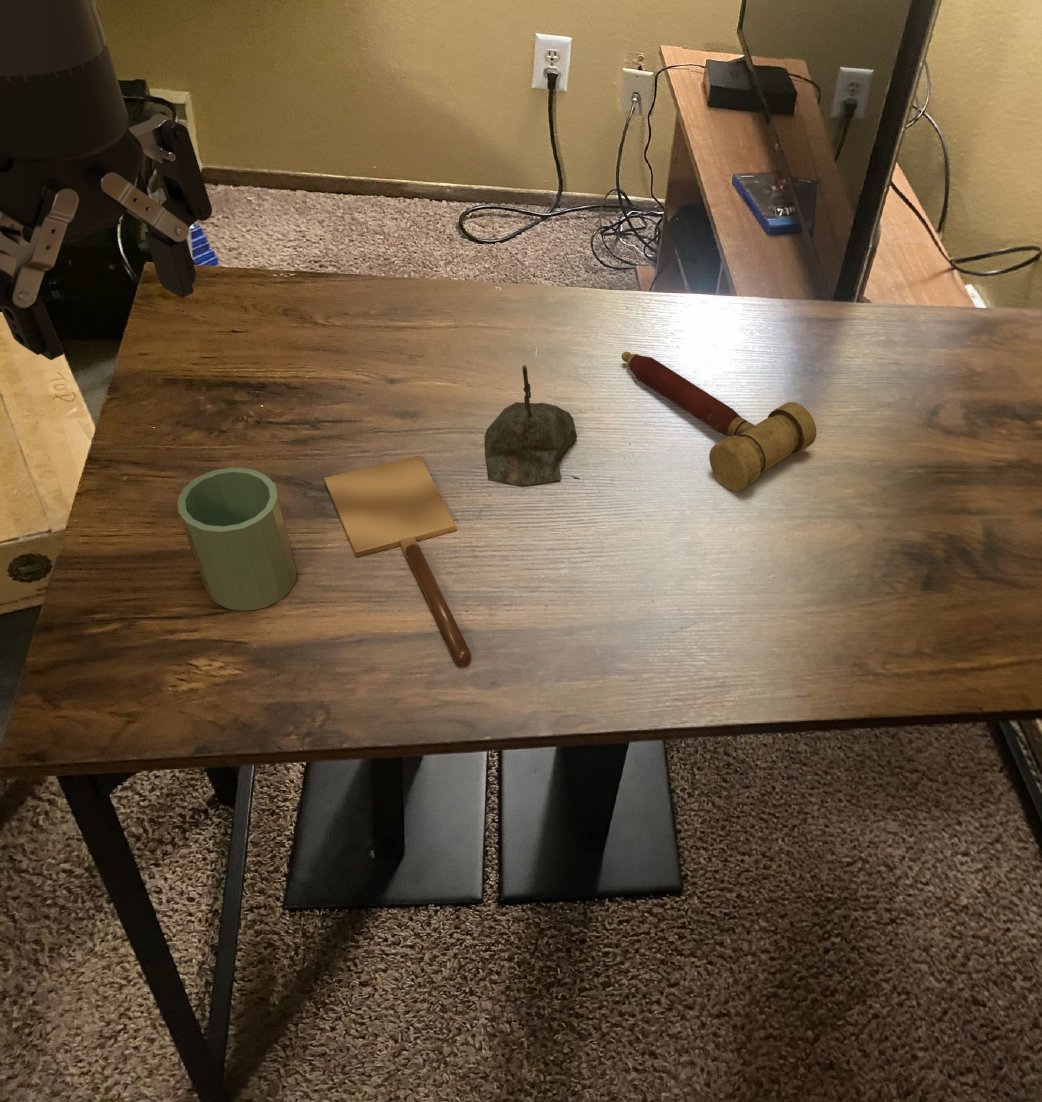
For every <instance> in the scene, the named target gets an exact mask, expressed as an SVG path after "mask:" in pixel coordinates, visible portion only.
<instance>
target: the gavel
mask: <svg viewBox="0 0 1042 1102" xmlns="http://www.w3.org/2000/svg"><path fill="white" fill-rule="evenodd" d="M621 359H622V361H623V362H625V363H626V365H627V368H629V369H630V371H631V372H632V374H633V375H634V376H635V377H636V379H637V380H638V381H640V382H641V383H642V384H644V385H646V386H647V387H649V388H650V389H651V390H653V391H655V392H656V393H658V394H659V395H661V397H664V398H665V399H667V400H668V401H670V402H672V403H673V404H675V405H676V406H677V407H679V408H681V409H682V410H683V411H685V412H686V413H688V414H690V415H691V416H693V417H694V418H696V419H698V420H699V421H700V422H702V423H704V424H705V425H707V426H708V427H709V428H710V429H712V430H714V431H716V432H717V433H718V434H721V435H724V436H726V438H725V439H723V440H721V441H719V442H718V443H716V444H714V445H713V446H712V447H711V448H710V451H709V457H708V458H709V459H708V460H709V465H710V468H711V471H712V473H713V474H714V476H715V478H716V479H717V481H719V482H720V484H721V485H722V486H724V487H725V488H727V489H729V490H731V491H734V492H736V491H742V490H743V489H745V488H747V487H748V486H749V485H751V484H753V483H754V482H755V481H757V480H758V479H759V477H760V476H761V474H762V473H763V472H765V471H766V470H768V469H770V468H771V467H772V466H775V465H776V464H777V463H779V462H780V461H782V460H784V459H785V458H787V457H788V456H790V455H791V456H793V455H797V454H800V453H801V452H802V451H804V450H805V449H807V448H809V447H810V446H811V445H813V444H814V442H815V441H816V438H817V425H816V422H815V419H814V417H813V416H812V414H811V413H810V412H809V410H808V409H807V408H806V407H805V406H803V405H802V404H800V403H799V402H794V401H787V402H786V403H784V404H782V405H780V406H778V407H777V408H775V409H773V410H772V411H771V412H770V413H768V416H767V418H765V419H762V421H760V422H758V423H756V424H753V423H752V422H750V421H748V420H747V419H745V418H743V417H742V416H741V415H740V414H739V413H738V412H737V411H735V409H734V408H732V407H730V406H729V405H727V404H726V403H724V402H722V401H721V400H719V399H718V398H716V397H715V396H713V395H711V394H710V393H708V392H707V391H705V390H704V389H702V388H701V387H699V386H697V385H696V384H695V383H693V382H691V381H690V380H688V379H686V378H685V377H683V376H681V375H680V374H679V373H677V372H676V371H674V370H672V369H671V368H669V367H667V366H666V365H665V364H663V363H661V362H660V361H658V360H656V359H655V358H654V357H651V356H646V355H640V354H638V353H631V352H629V351H623V352H622V354H621Z"/></svg>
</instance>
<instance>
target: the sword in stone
mask: <svg viewBox="0 0 1042 1102" xmlns="http://www.w3.org/2000/svg"><path fill="white" fill-rule="evenodd" d="M522 375H523V386H524V387H523V388H522V389H523V392H524V394H525V395H524V397H523V401H524V402H521V401H520V402H518V401H516V402H514V403H512V404H510V405H508V406H507V407H504V408H503V410H502V411H501V412H500V413H499V414H498V415H497V417H495V419H494V420H493V421H492V423H491V424H490V425H489V426H488V427H487V429H486V431H485V434H484V437H483V438H484V456H485V462H486V473H487V480H488V481H493V482H499V483H505V484H510V485H516V486H520V487H524V486H529V485H535V484H542V483H547V482H554V481H560V480H562V476H561V468H560V461H559V459H560V458H561V457H562V455H563V454H564V453H565V452H566V451H567V450H568V448H570V446H571V445H572V444H573V443H574V442H575V441H576V439H577V438H578V434H577V429H576V424H575V420H574V417H573V416H572V415H571V413H570V412H568V411H566V410H564V409H563V408H561V407H559V406H557V405H555V404H551V403H546V402H535V403H534V402H531V401H530V399H532V392H531V384H530V383H529V376H528V368H527V365H526V364H524V365H522Z"/></svg>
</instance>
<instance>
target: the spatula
mask: <svg viewBox="0 0 1042 1102" xmlns="http://www.w3.org/2000/svg"><path fill="white" fill-rule="evenodd" d="M323 483H324V486H325V487H326V489H327V492H328V494H329V496H330V499H331V501H332V503H333V506H334V508H335V510H336V513H337V515H338V517H339V521H340V522H341V525H342V527H343V529H344V532H345V533H346V534H345V535H346V536H347V539H348V541H349V544H350V546H351V548H352V551H353V553H354V555H355V557H356V558H360V557H363V556H368V555H370V554H375V553H378V552H382V551H385V550H388V549H392V548H396V547H400V548H401V550H402V552H403V555H404V557H405V558H406V559H407V560H408V562H409V565H410V567H411V570H412V571H413V573H414V576H415V578H416V580H417V582H418V584H419V587H420V588H421V590H422V593H423V594H424V595H423V596H424V597H425V599H426V601H427V604H428V605H429V607H430V610H431V612H432V615H433V617H434V618H435V621H436V622H437V625H438V627H439V629H440V631H441V633H442V635H443V638H444V640H445V643H446V644H447V646H448V648H449V650H450V652H451V655H452V657H453V659H454V661H455V662H456V663H457V664H459V665H466V664H467V663H469V662H470V660H471V658H472V653H471V651H470V649H469V647H468V645H467V642H466V640H465V638H464V636H463V634H462V632H461V630H460V628H459V625H458V624H457V621H456V619H455V618H454V615H453V613H452V611H451V609H450V607H449V605H448V603H447V600H446V598H445V597H444V594H443V592H442V590H441V588H440V586H439V583H438V582H437V580H436V577H435V575H434V573H433V572H432V569H431V567H430V565H429V563H428V561H427V559H426V557H425V555H424V553H423V551H422V548H421V546H419V543H418V542H419V541H422V540H427V539H429V538H433V537H437V536H440V535H445V534H448V533H451V532H454V531H457V524H456V522H455V520H454V518H453V516H452V514H451V513H450V511H449V508H448V507H447V505H446V502H445V501H444V499H443V497H442V495H441V493H440V491H439V489H438V487H437V485H436V484H435V481H434V479H433V477H432V476H431V474H430V472H429V470H428V468H427V466H426V464H425V462H424V460H423V458H422V456H421V455H419V454H418V455H415V456H411V457H406V458H402V459H398V460H395V461H390V462H386V463H382V464H377V465H373V466H369V467H364V468H360V469H356V470H351V471H347V472H343V473H338V474H334V475H329V476H326V477H323Z"/></svg>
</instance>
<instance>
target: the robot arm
mask: <svg viewBox="0 0 1042 1102" xmlns="http://www.w3.org/2000/svg"><path fill="white" fill-rule="evenodd" d="M118 79H119V78H118V75H117V73H116V69H115V66H114V62H113V58H112V54H111V51H110V48H109V44H108V41H107V38H106V34H105V31H104V27H103V24H102V19H101V14H100V11H99V8H98V6H97V3H96V0H0V310H1V312H2V315H3V317H4V320H5V322H6V324H7V326H8V329H9V330H10V333H11V335H12V337H13V340H15V342H17V343H18V345H21V346H22V347H24V348H25V349H26V350H28V351H29V352H31V353H33V354H35V355H36V356H39V355H41V356H43V357H45V358H47V360H50V361H53V360H55V359H57V358H59V357H61V356H63V355H65V353H64V349H63V346H62V344H61V342H60V339H59V337H58V333H57V332H56V330H55V327H54V325H53V323H52V320H51V317H50V315H49V312H48V310H47V308H46V306H45V302H44V301H43V300H41V299H39V298H38V294H39V291H40V289H41V284H42V281H43V279H44V275H45V273H46V271H49V270H52V269H53V268H54V267H55V264H56V262H57V258H58V255H59V252H60V249H61V246H62V243H64V244H66V245H71V244H73V243H77V242H78V241H81V240H83V239H84V238H86V237H87V236H89V234H91V233H93V232H94V231H101V230H102V231H103V230H109V229H111V228H114V227H116V226H120V225H121V221H120V219H121V218H122V217H123V216H124V215H125V213H128V214H129V215H131V216H132V217H134V218H135V219H137V220H138V221H139V222H141V223H143V224H144V225H146V226H148V227H149V229H150V230H147V231H145V232H144V236H145V239H146V242H147V246H148V250H149V252H150V256H151V259H152V262H153V265H154V268H155V272H156V275H157V278H158V282H159V283H160V285H161V286H162V287H163V288H164V290H167V291H168V292H170V293H172V294H173V295H175V296H177V297H179V298H181V299H183V298H186V297H188V296H190V295H192V294H193V293H194V287H193V284H194V283H196V278H197V277H196V276H197V272H196V269H195V264H194V262H193V257H192V253H191V250H190V246H189V242H188V237H189V234H190V228H191V226H192V225H194V224H195V223H196V222H197V221H200V222H205V221H207V220H209V219H210V217H211V216H212V213H213V207H212V203H211V201H210V196H209V194H208V190H207V187H206V183H205V181H204V178H203V174H202V171H201V167H200V165H199V162H198V158H197V155H196V151H195V148H194V146H193V142H192V138H191V135H190V132H189V129H188V128H187V126H185V125H184V124H183V123H180V122H179V121H176V120H174V119H172V118H170V117H169V116H166V115H164V114H162V113H160V112H159V111H157V110H154V109H153V108H147V109H144V110H143V111H142V112H141V113H140V115H139V116H140V117H139V123H137V124H134V125H133V126H130V127H129V124H130V119H129V113H128V110H127V107H126V103H125V101H124V97H123V93H122V90H121V86H120V82H119V80H118ZM144 155H145V156H147V157H148V158H150V159H152V162H153V164H154V168H155V170H156V171H155V172H156V174H157V176H158V179H159V182H160V185H161V188H162V191H163V193H164V196H165V197H164V198H165V200H164V201H163V202H161V204H160V203H159V202H157V201H156V200H154V199H153V198H152V197H150V196H149V195H147V194H146V193H145V192H143V191H142V190H140V189H139V188H138V187H136V186H135V185H136V182H137V181H136V180H137V179H138V175H139V171H140V170H141V169H140V168H141V166H142V163H143V159H144ZM24 228H26V229H27V230H29V231H31V232H32V235H31V238H30V241H29V242H28V241H27V240H26V239H25V238H24V236H23V235H24V234H23V230H24Z"/></svg>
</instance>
